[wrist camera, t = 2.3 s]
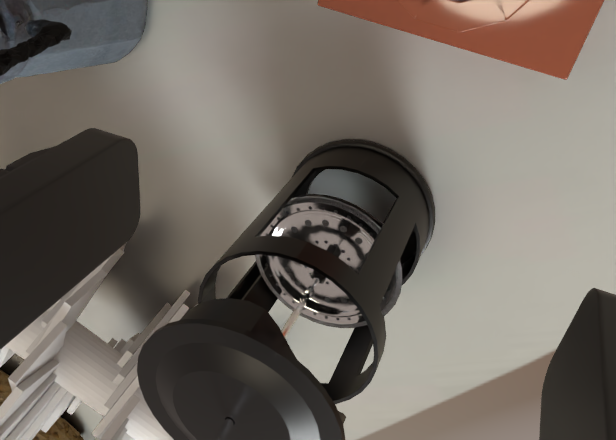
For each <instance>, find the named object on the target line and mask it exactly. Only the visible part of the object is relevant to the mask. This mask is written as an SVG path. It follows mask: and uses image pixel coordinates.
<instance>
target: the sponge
mask: <svg viewBox="0 0 616 440" xmlns="http://www.w3.org/2000/svg"><path fill="white" fill-rule="evenodd" d="M8 378H9V375H8V374H6V373H5V372H3V371H2V370H0V406H1V405H2V404H3V402H4V401H5V400H6V399H7V397H8V396H9V395H10V394H11V392H12V390H11V386H10V383H9V380H8ZM43 426H44V425H43ZM32 440H84V439H83V437H81V436H80V433H79V432H78V431H77V430H76V429H75V428H74V427H73V426H71V425H70V424H69V423H68V422H67V421H66V420H65V419H64V418H61V416H60V417H59V418H58V419H57V421H56V422H55V423H54V424H53V425H52V426H51V428H50V429H49V430H48V431H47V432H46V433H45V432H44V431H42V430H41V429H40V430H39V432H38V433H37V434H36V436H35V437H34V438H33V439H32Z"/></svg>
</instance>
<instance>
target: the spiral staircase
mask: <svg viewBox="0 0 616 440" xmlns="http://www.w3.org/2000/svg"><path fill="white" fill-rule="evenodd" d="M125 245H126V243H125V244H124V245H123V246H122V247H121V248H119V249H118V250H117V251H116V252H115V253H114V254H112V255H111V256H110V257H109V258H108V259H106V260H105V261H104V262H103V263H102V264H101V265H99V266H98V267H97V268H96V269H95V270H94V271H92V272H91V273H90V274H89V275H88V276H86V277H85V278H84V279H83V280H82V281H81V282H79V283H78V284H77V285H76V286H75V287H74V288H72V289H71V290H70V291H69V292H68V293H66V294H65V295H64V296H63V297H62V298H61V299H59V300H58V301H57V302H56V303H55V304H54V305H52V306H51V307H50V308H49V309H48V310H46V311H45V312H44V313H43V314H42V315H41V316H39V317H38V318H37V319H36V320H35V321H34V322H32V323H31V324H30V325H29V326H28V327H26V328H25V329H24V330H23V331H22V332H21V333H19V334H18V335H17V336H16V337H15V338H13V339H12V340H11V341H10V342H9V343H8V344H6V345H5V346H4V347H3V348H2V349H1V350H0V367H1V366H2V365H3V364H4V363H5V362H6V361H7V360H9V359H10V358H11V357H12V356H13V355H14V354H15V353H16V354H17V355H18V356H20V357H21V358H23V359H24V361H23V362H22V363H21V364H20V366H19V367H18V368H17V369H16V370H15V371H14V372H13V373H12V374H11V375H10V376H9V378H8V380H9V383H10V386H11V390H12V392H11V394H10V395H9V396H8V397H7V399H6V400H5V401H4V402H3V404H2V405H1V406H0V440H32V439H33V438H34V437H35V436H36V434H37V433H38V432H39V430H40V429H41V430H42V431H44V432H45V433H46V432H47V431H48V430H49V429H50V428H51V426H52V425H53V424H54V423H55V422H56V421H57V419H58V418H59V417H60V416H61V415H62V413H63V412H64V411H65V410H66V409H67V408H68V406H69V405H70V404H71V403H72V404H71V406H70V407H69V409H68V410H67V412H68V413H69V414H71V415H72V414H73V412H74V411H75V410H76V409H77V408H78V406H79V405H80V404H81V403H82V402H84V403H85V404H86V405H88V406H89V407H91V408H92V409H93V410H95V411H96V412H98V413H99V414H100V415H102V416H103V419H102V420H101V421H100V423H99V424H98V425H97V427H96V428H95V429H94V431H93V432H92V433H91V434H92V435H93V436H94V437H96V438H95V440H174V439H173V438H172V437H171V436H170V435H169V434H168V433H167V432H166V431H165V430H164V429H163V427H162V426H161V425H160V423H159V422H158V421H157V420H156V418H155V417H154V416H153V414H152V412H151V410H150V409H149V407H148V405H147V403H146V402H145V400H144V397H143V394H142V392H141V389H140V386H139V381H138V375H137V363H138V362H137V361H138V356H139V354H140V351H141V349H142V346H143V344H144V343H145V342H146V341H147V340H148V339H149V338H150V337H151V335H152V334H153V333H154V332H155V331H156V330H158V329H159V328H161V327H163V326H165V325H166V324H168V323H171V322H175V321H179V320H180V319H181V318H182V317H183V315H184V314H185V313H186V312H187V310H188V309H189V307H187V306H186V305H185V304H183V302H184V301H185V300H186V299H187V297H188V296H189V295H190V293H189V292H188V291H187V290H185V291H184V292H183V293H182V294H181V296H180V297H179V298H178V299H177V301H176V302H175V303H174V305H173V306H172V307H171V305H170V304H168V303H166V304H165V306H164V307H163V308H162V309H161V310H160V312H159V313H158V314H157V315H156V316H155V318H154V319H153V320H152V321H151V322H150V324H149V325H148V326H147V327H146V328H145V329H144V331H143V332H142V333H141V334H139V333H137V334H136V335H134V336H133V337H132V338H130V339H129V341H128V342H126V341H124V340H123V339H121V341H120V342H119V343H118V344H117V345H116V343H117V342H118V341H116V340H115V339H113V338H112V339H111V340H110V341H109V343H108V344H107V343H106V342H105V341H103V340H102V339H101V338H99V337H98V336H96V335H95V334H94V333H92V332H91V331H90V330H88V329H87V328H86V327H84V326H83V325H82V324H80V323H79V322H77V321H76V320H77V318H78V317H79V315H80V314H81V313H82V311H83V310H84V308H85V307H86V305H87V304H88V302H89V301H90V299H91V298H92V296H93V295H94V293H95V292H96V290H97V289H98V287H99V286H100V284H101V283H102V281H103V280H104V278H105V277H106V275H107V274H108V272H109V271H110V270H111V269H112V267H113V266H114V265H115V264H116V262H117V261H118V260H119V259H120V257H121V256H122V255H123V254H124V251H123V250H124V248H125ZM181 305H182V306H181ZM180 306H181V307H180ZM169 309H170V310H169ZM168 310H169V311H168ZM177 310H178V311H177ZM167 311H168V312H167ZM176 311H177V312H176ZM165 314H166V315H165ZM174 314H175V315H174ZM164 315H165V316H164ZM173 315H174V316H173ZM172 316H173V317H172ZM161 319H162V320H161ZM170 319H171V320H170ZM160 320H161V321H160ZM169 320H170V321H169ZM157 324H158V325H157ZM153 329H154V330H153ZM149 334H150V335H149ZM142 343H143V344H142ZM141 344H142V345H141ZM115 345H116V347H115V348H113V347H114V346H115ZM138 348H139V349H138ZM137 349H138V350H137ZM134 353H135V354H134ZM133 354H134V355H133ZM130 358H131V359H130ZM129 359H130V360H129ZM43 425H44V426H43Z"/></svg>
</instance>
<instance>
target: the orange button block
mask: <svg viewBox="0 0 616 440" xmlns="http://www.w3.org/2000/svg"><path fill="white" fill-rule="evenodd" d="M603 2H604V0H318V6H321V7H325V8H328V9H331V10H335V11H338V12H341V13H345V14H348V15H351V16H355V17H358V18H361V19H365V20H368V21H371V22H375V23H378V24H381V25H385V26H388V27H391V28H395V29H398V30H401V31H405V32H408V33H411V34H415V35H418V36H421V37H425V38H428V39H431V40H435V41H438V42H441V43H445V44H448V45H451V46H455V47H458V48H461V49H465V50H468V51H471V52H475V53H478V54H481V55H485V56H488V57H491V58H495V59H498V60H501V61H505V62H508V63H511V64H515V65H518V66H521V67H525V68H528V69H531V70H535V71H538V72H541V73H545V74H548V75H551V76H555V77H558V78H561V79H565V80H566V79H568V76H569V74H570V72H571V70H572V68H573V66H574V64H575V61H576V59H577V57H578V55H579V53H580V51H581V49H582V47H583V44H584V42H585V40H586V38H587V36H588V34H589V32H590V30H591V27H592V25H593V23H594V21H595V19H596V17H597V15H598V12H599V10H600V8H601V6H602V4H603Z"/></svg>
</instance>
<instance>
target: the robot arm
mask: <svg viewBox="0 0 616 440" xmlns="http://www.w3.org/2000/svg"><path fill="white" fill-rule="evenodd" d="M139 218H140V193H139V173H138V154H137V148H136V146H135V144H134V142H133V141H132V140H130V139H127V138H124V137H121V136H118V135H115V134H112V133H108V132H105V131H102V130H99V129H96V128H90V129H87V130H85V131H83V132H81V133H79V134H78V135H76V136H74V137H72V138H70V139H68V140H67V141H65V142H63V143H61V144H59V145H57V146H55V147H52V148H48V149H44V150H40V151H37V152H33V153H30V154H28V155H26V156H24V157H22V158H21V159H19V160H17V161H15V162H13V163H11V164H9V165H7V167H6V169H5V170H4V169H0V350H1V349H2V348H3V347H4V346H5V345H6V344H8V343H9V342H10V341H11V340H12V339H13V338H15V337H16V336H17V335H18V334H19V333H21V332H22V331H23V330H24V329H25V328H26V327H28V326H29V325H30V324H31V323H32V322H34V321H35V320H36V319H37V318H38V317H39V316H41V315H42V314H43V313H44V312H45V311H46V310H48V309H49V308H50V307H51V306H52V305H54V304H55V303H56V302H57V301H58V300H59V299H61V298H62V297H63V296H64V295H65V294H66V293H68V292H69V291H70V290H71V289H72V288H74V287H75V286H76V285H77V284H78V283H79V282H81V281H82V280H83V279H84V278H85V277H86V276H88V275H89V274H90V273H91V272H92V271H94V270H95V269H96V268H97V267H98V266H99V265H101V264H102V263H103V262H104V261H105V260H106V259H108V258H109V257H110V256H111V255H112V254H114V253H115V252H116V251H117V250H118V249H119V248H121V247H122V246H123V245H124V244H125V243H126V242H127V241H128V240H129V239H130V238H131V237H132V235H133V234H134V232H135V230H136V228H137V225H138V222H139ZM540 420H541V421H540V437H539V438H540V439H539V440H616V295H615V294H612V293H608V292H605V291H602V290H599V289H596V288H593V289H591V290H590V291H589V292H588V293H587V295H586V296H585V298H584V300H583V301H582V303H581V305H580V307H579V309H578V311H577V313H576V314H575V316H574V318H573V320H572V322H571V324H570V326H569V327H568V329H567V331H566V333H565V335H564V337H563V339H562V341H561V342H560V344H559V346H558V348H557V350H556V352H555V354H554V356H553V358H552V360H551V362H550V364H549V367H548V370H547V373H546V376H545V380H544V384H543V390H542V399H541V418H540Z"/></svg>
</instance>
